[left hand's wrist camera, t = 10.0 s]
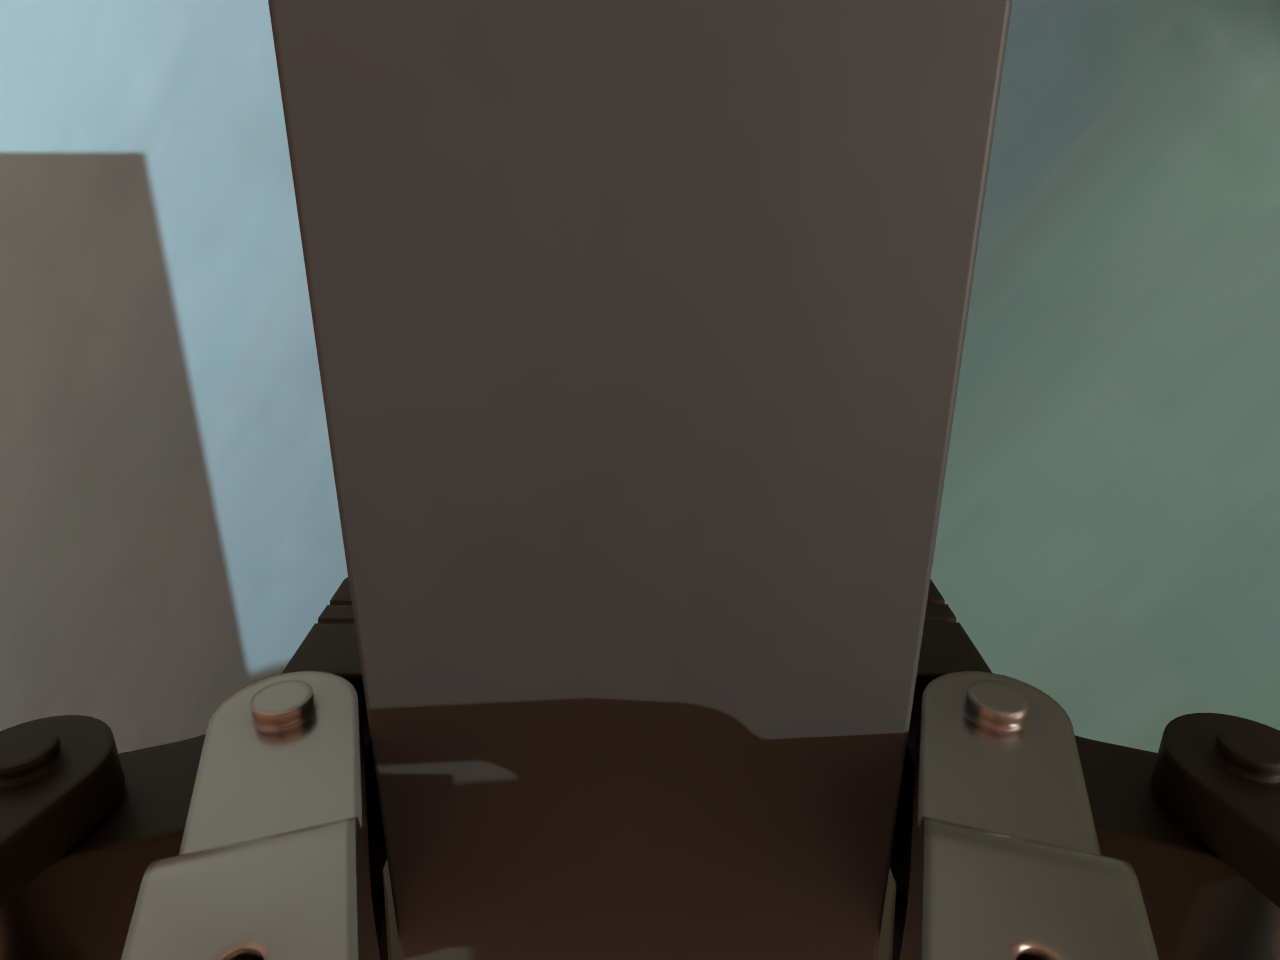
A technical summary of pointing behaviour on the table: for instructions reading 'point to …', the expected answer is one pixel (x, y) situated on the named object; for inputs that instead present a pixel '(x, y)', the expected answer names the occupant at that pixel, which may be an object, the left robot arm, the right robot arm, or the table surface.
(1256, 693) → the table surface
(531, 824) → the bar
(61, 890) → the left robot arm
